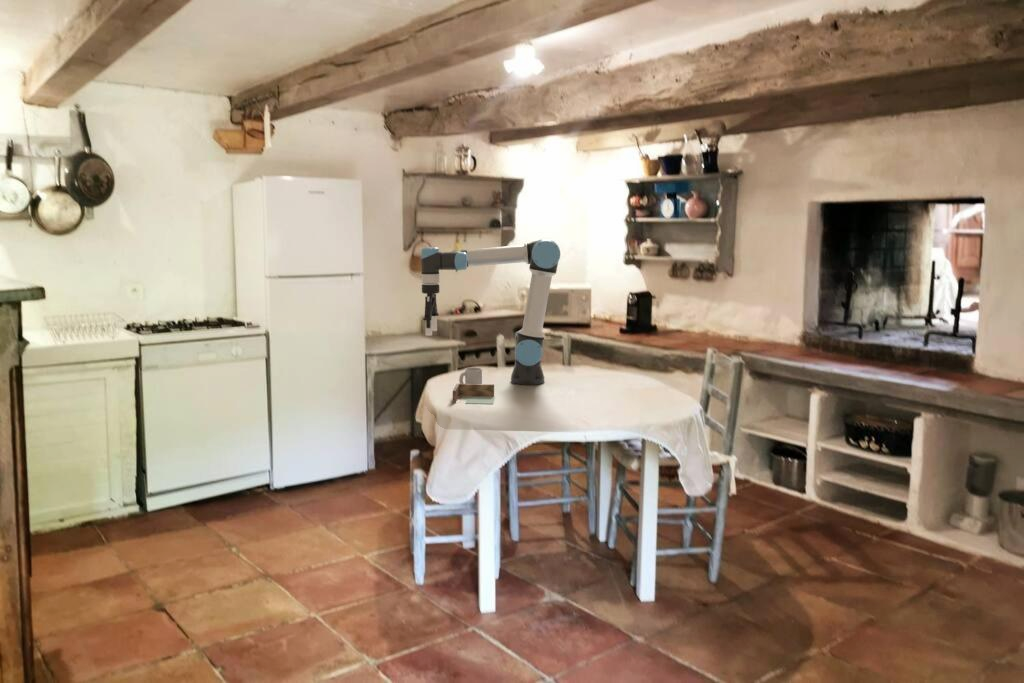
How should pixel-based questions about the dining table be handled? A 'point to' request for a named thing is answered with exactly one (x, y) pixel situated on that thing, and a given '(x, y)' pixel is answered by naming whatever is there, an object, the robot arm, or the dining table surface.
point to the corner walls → (473, 390)
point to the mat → (480, 400)
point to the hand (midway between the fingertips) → (431, 333)
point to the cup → (471, 376)
